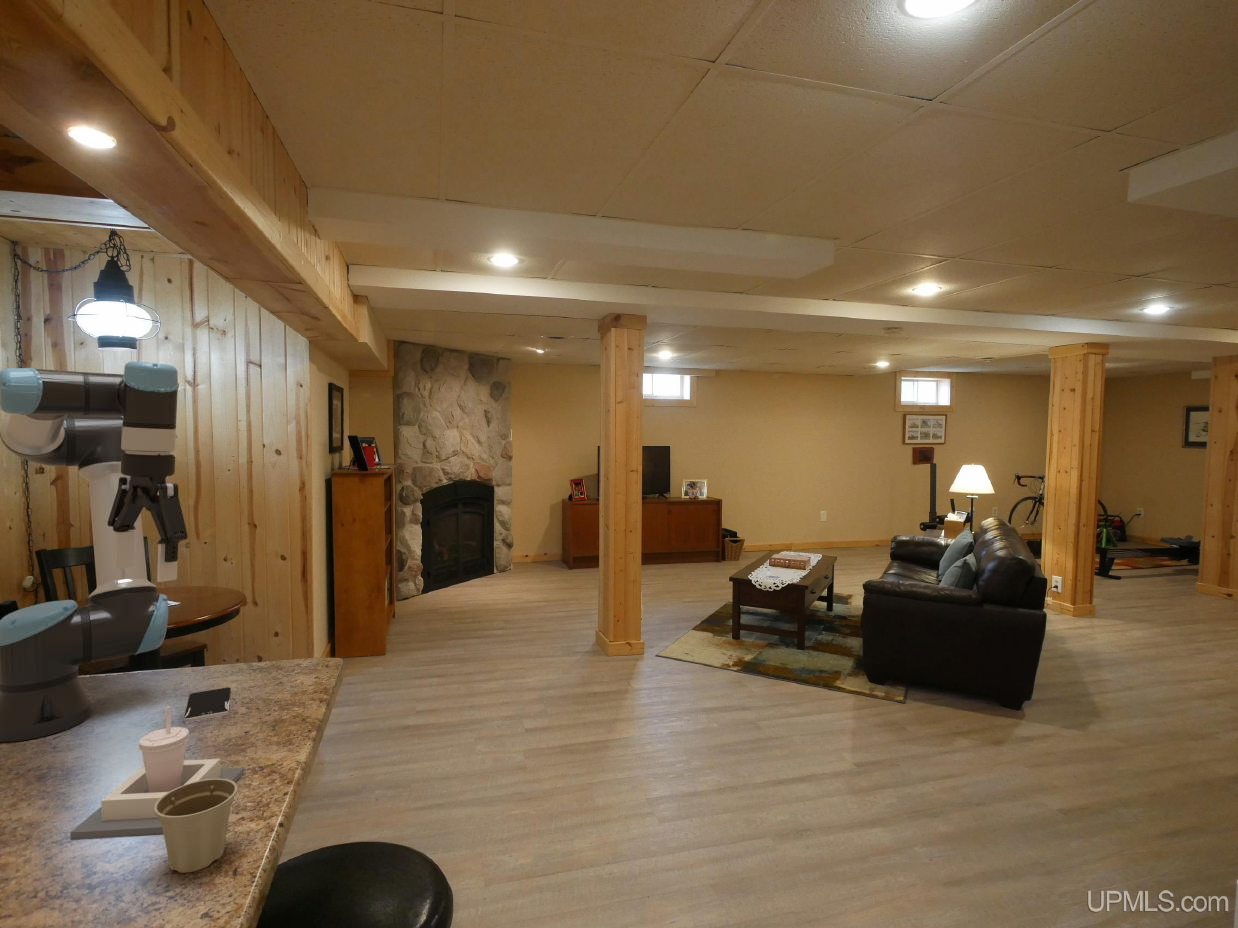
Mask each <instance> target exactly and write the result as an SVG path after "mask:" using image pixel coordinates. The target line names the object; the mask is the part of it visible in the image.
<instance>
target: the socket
mask: <svg viewBox="0 0 1238 928" xmlns="http://www.w3.org/2000/svg"><path fill="white" fill-rule="evenodd" d="M244 773H245V769H244V767H236V768H235V767H234V768H233V767H232V768H221V759H220V758H211V759H210V758H209V759H187V760H186V759H184V764H183V772H182V780H181V786H183V785H185V784H188V783H192V782H195V781H199V780H204V779H212V778H222V779H229V780H231V781H234V782H235V783H236V784H237V782H238V781H239V780H240V778H242V777H243V775H244ZM166 793H168V792H155V793H149V788H148V783H147V777H146V772H145V766H144V765H143V766H142V767H141V768H139V769H138V770H136V772H134V773H133V774H132V775H131V776H129V777H128V778H127V779H126V780H125V781H123V782H121V784H120V785H119V786H117V787H116V788H115V789H114V790H112V791H111V792H110V793H108V794H107V795H106V796H104V797H103V799H102V800H101V801H100V804H101V805H100V807H99V808H97V810H96V811H94V812H93V813H92V814H91V815H89V816H88V817H87V818H86V819H84V820H83V821H82V822H81V823H80V824H79V825H77V826H76V827H75V828H73V830H71V831H70V833H69V835H70V840H80V839H99V838H111V837H112V838H114V837H115V838H118V837H131V836H133V837H134V836H135V837H136V836H150V835H164V833H163V828H162V824H161V823H160V822H159V818H158V816H157V815H156V814H155V812H154V806H155V804H156V802H157V801H158V800H159V799H160V798H161V797H162V796H163V795H165V794H166Z"/></svg>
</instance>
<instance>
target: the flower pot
mask: <svg viewBox="0 0 1238 928" xmlns="http://www.w3.org/2000/svg"><path fill="white" fill-rule="evenodd" d="M237 792H238V785H237V782H236V783H235V782H234V781H231V780H229V779H222V778H212V779H204V780H199V781H195V782H192V783H188V784H185V785H183V786H180V787H177V788H175V789H173V790H171V791H169V792H168V793H166V794H165V795H163V796H162V797H161V798H160V799H159V800H158V801H157V802H156V804H155V806H154V812H155V814H156V815H157V816H158V818H159V822H160V823H161V824H162V828H163V833H164V834H163V837H164V843H165V848H166V852H167V853H166V854H167V860H168V866H169V869H170V870H171V871H176V872H178V873H180V874H184V873H185V874H186V873H191V872H197V871H199V870H203V869H205V868H207V867H208V866H210V865H211V864H212V863H213V862H214V861H217V860H219V859H220V858H221V857H222V855H223V854H224V852H225V847H226V846H225V845H226V839H227V832H228V824H229V821H230V820H229V819H230V818H229V817H230V813H231V806H232V805H233V803H234V798H235V796H236V795H237Z"/></svg>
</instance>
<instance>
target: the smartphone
mask: <svg viewBox="0 0 1238 928" xmlns="http://www.w3.org/2000/svg"><path fill="white" fill-rule="evenodd" d="M230 692H232V689H231V687H227V686H226V687H222V688H216V689H210V690H204V691H198V692H192V693H190V694H189V696H188V700H187V704H186V708H185V712H184V716H183V723H184V722H191V721H196V720H202V719H208V718H213V717H217V716H223V715H227V714H229V715H230V707H229V705H231V694H230Z"/></svg>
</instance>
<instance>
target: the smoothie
mask: <svg viewBox="0 0 1238 928" xmlns="http://www.w3.org/2000/svg"><path fill="white" fill-rule="evenodd" d="M189 733H190V731H189V729H188V728H187V727H182V726H172V727H171V706H166V707H165V728H161V729H157V730H154V731H152V732H149V733H147V734H145V735H144V736H142V737H141V738H140V739H139V741H138V750H139V751H140V752H141V754H142V759H143V766H145V772H146V777H147V783H148V788H149V793H155V792H169V791H171V790H173V789H175V788H177V787H180V786H181V780H182V772H183V764H184V760H185V755H186V748H187V741H188V740H189V739H190V734H189Z"/></svg>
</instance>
